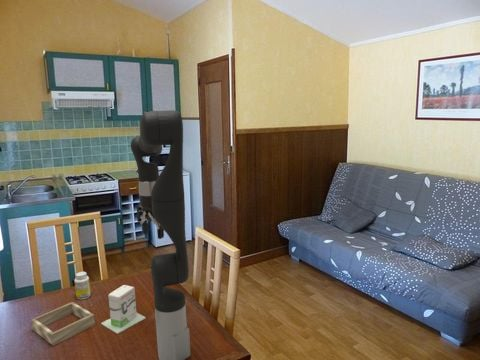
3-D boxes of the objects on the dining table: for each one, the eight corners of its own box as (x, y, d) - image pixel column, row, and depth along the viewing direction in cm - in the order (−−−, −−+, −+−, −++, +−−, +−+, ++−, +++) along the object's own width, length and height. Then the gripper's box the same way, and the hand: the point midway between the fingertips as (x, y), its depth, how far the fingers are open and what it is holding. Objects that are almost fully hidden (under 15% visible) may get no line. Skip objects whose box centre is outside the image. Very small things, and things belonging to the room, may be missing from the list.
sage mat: (145, 318, 139) (145, 317, 139) (117, 334, 130) (117, 332, 130) (129, 309, 145) (129, 308, 145) (101, 324, 136) (100, 323, 136)
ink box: (121, 328, 133) (118, 297, 130) (110, 325, 135) (107, 294, 132) (137, 315, 140) (134, 286, 138) (126, 313, 142) (124, 284, 140)
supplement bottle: (83, 292, 160) (80, 269, 158) (93, 294, 158) (91, 271, 156) (73, 298, 155) (70, 275, 153) (84, 301, 153) (81, 277, 151)
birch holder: (94, 324, 136) (93, 314, 135) (53, 345, 125) (51, 334, 124) (73, 311, 145) (72, 301, 144) (32, 329, 134) (31, 319, 133)
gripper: (171, 193, 133) (174, 236, 136) (145, 188, 142) (148, 229, 145) (154, 197, 127) (157, 243, 131) (128, 192, 136) (132, 235, 139)
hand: (153, 235), depth 138 cm, fingers open, 8 cm apart
